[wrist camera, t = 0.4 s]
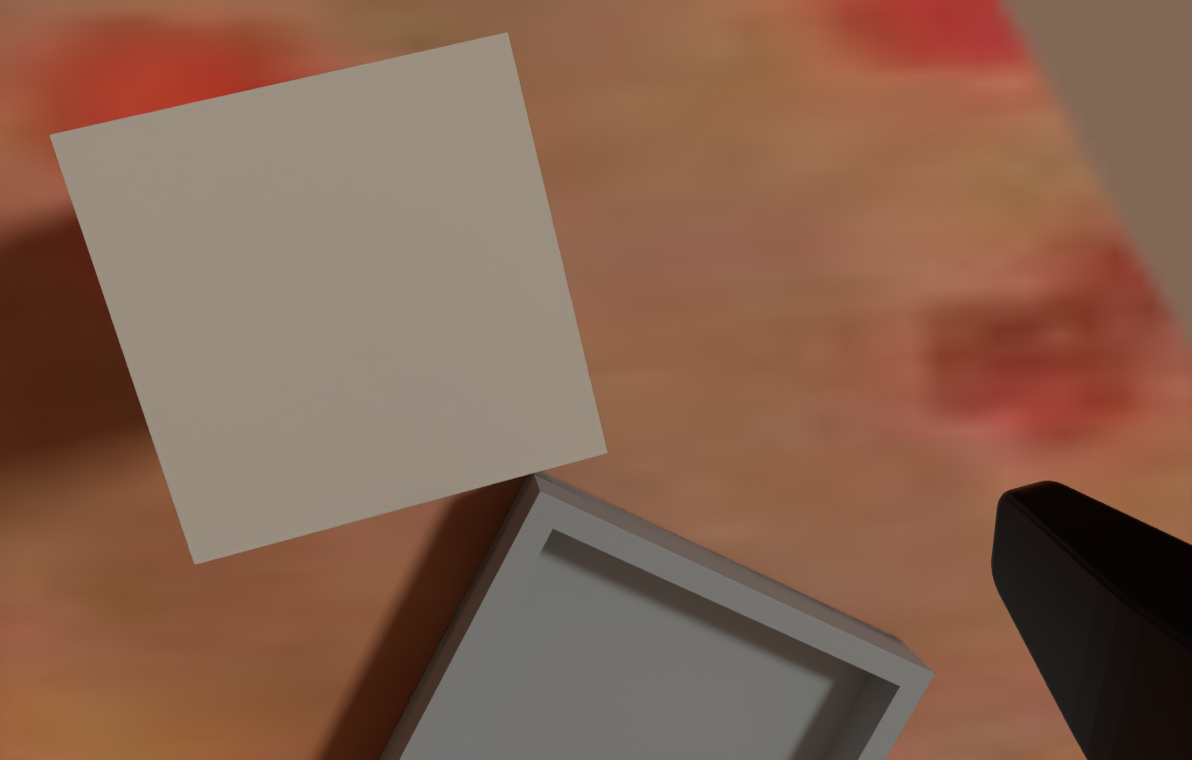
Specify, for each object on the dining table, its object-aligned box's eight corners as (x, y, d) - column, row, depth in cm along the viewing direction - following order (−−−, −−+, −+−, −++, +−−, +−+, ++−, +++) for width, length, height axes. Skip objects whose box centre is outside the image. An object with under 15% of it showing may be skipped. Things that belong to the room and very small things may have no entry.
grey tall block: (520, 321, 23) (608, 454, 12) (302, 376, 22) (194, 565, 12) (465, 99, 22) (507, 32, 11) (234, 151, 21) (49, 134, 11)
